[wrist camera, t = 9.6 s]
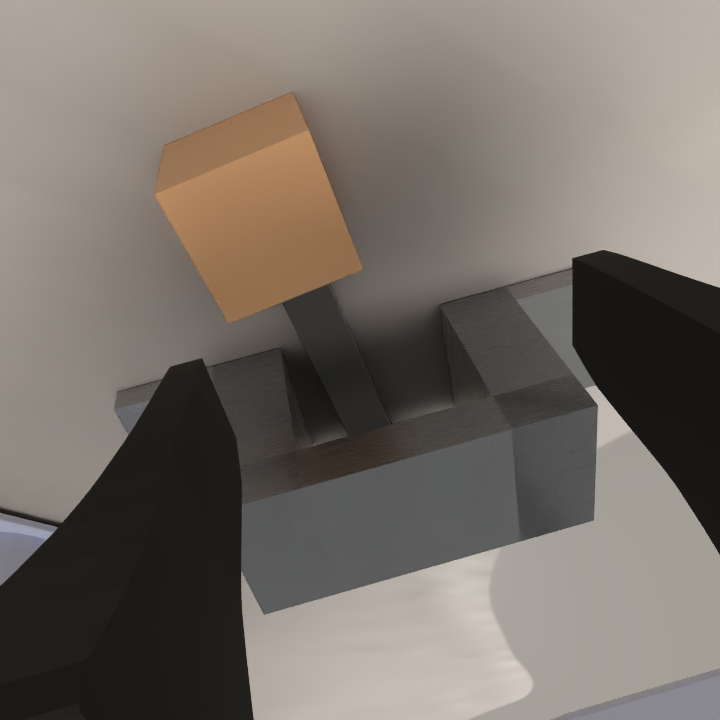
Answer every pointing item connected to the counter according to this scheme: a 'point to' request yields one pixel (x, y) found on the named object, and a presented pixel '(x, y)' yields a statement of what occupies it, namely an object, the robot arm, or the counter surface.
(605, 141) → the counter surface
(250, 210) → the plug
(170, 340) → the counter surface
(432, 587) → the counter surface
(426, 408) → the counter surface
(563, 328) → the mounting bracket
